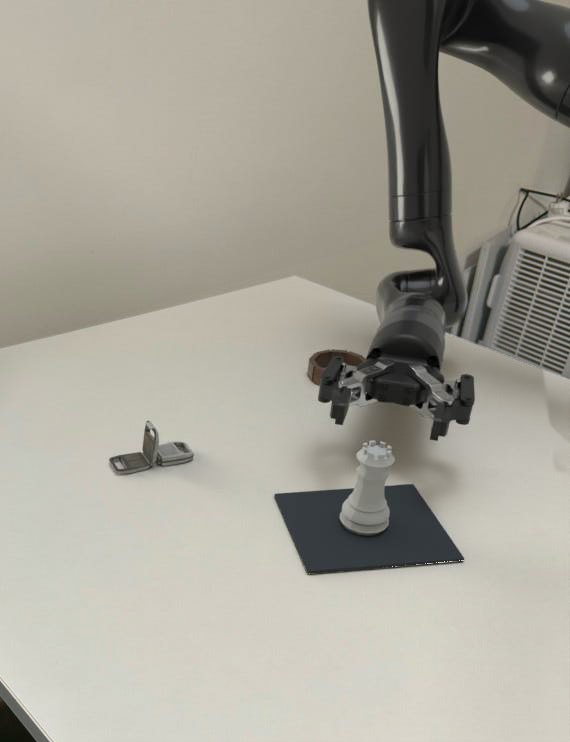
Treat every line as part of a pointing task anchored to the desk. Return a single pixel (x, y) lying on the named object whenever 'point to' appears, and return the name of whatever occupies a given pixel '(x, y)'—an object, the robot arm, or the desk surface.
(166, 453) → the strap clip
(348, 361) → the brown segmented bracelet
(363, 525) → the rook chess piece
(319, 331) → the desk surface
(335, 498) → the mat
